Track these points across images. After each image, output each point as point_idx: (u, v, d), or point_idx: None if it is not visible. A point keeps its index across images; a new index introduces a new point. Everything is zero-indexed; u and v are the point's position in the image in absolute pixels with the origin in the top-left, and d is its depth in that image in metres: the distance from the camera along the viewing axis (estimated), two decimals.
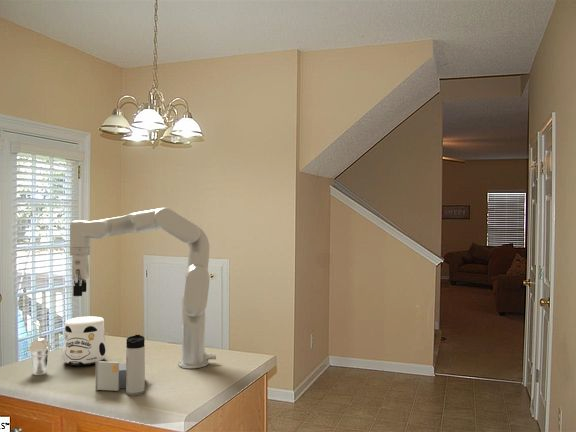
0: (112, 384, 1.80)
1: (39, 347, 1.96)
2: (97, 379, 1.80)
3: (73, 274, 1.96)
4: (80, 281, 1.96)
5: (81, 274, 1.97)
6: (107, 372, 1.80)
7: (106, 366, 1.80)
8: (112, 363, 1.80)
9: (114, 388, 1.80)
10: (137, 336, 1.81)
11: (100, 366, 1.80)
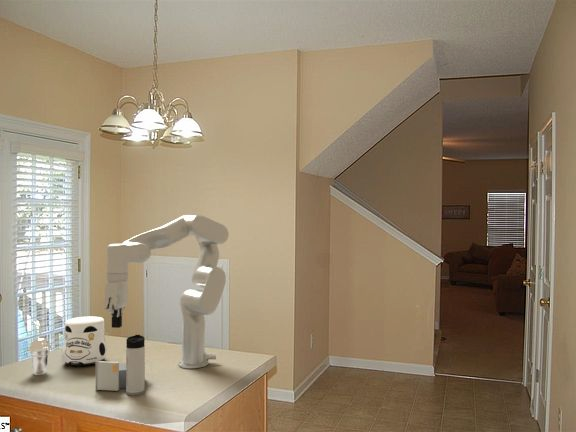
0: (112, 384, 1.80)
1: (39, 347, 1.96)
2: (97, 379, 1.80)
3: None
4: None
5: None
6: (107, 372, 1.80)
7: (106, 366, 1.80)
8: (112, 363, 1.80)
9: (114, 388, 1.80)
10: (137, 336, 1.81)
11: (100, 366, 1.80)
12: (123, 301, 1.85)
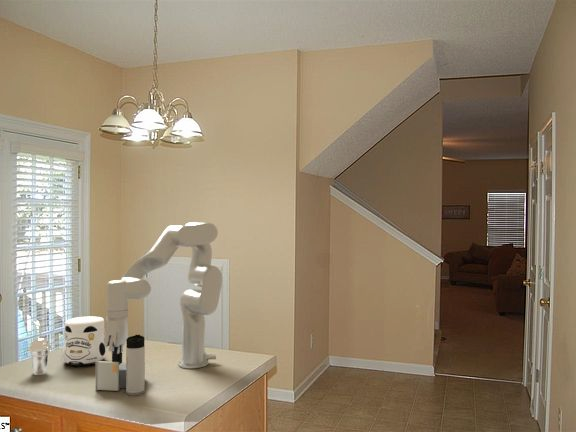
0: (112, 384, 1.80)
1: (39, 347, 1.96)
2: (97, 379, 1.80)
3: None
4: None
5: None
6: (107, 372, 1.80)
7: (106, 366, 1.80)
8: (112, 363, 1.80)
9: (114, 388, 1.80)
10: (137, 336, 1.81)
11: (100, 366, 1.80)
12: (123, 338, 1.85)
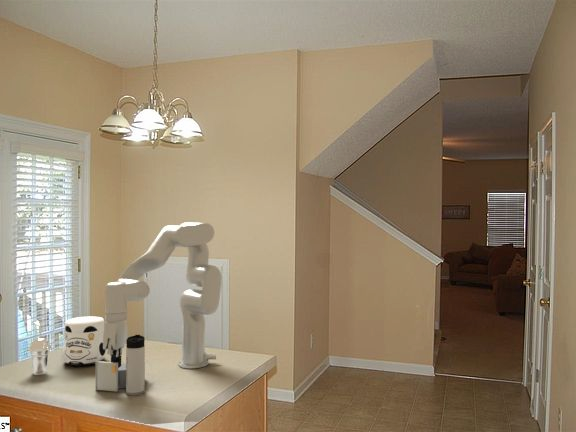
0: (111, 385, 1.79)
1: (39, 347, 1.96)
2: (97, 379, 1.80)
3: None
4: None
5: None
6: (106, 372, 1.79)
7: (105, 366, 1.79)
8: (111, 363, 1.79)
9: (113, 388, 1.79)
10: (137, 336, 1.81)
11: (100, 366, 1.80)
12: (122, 341, 1.82)
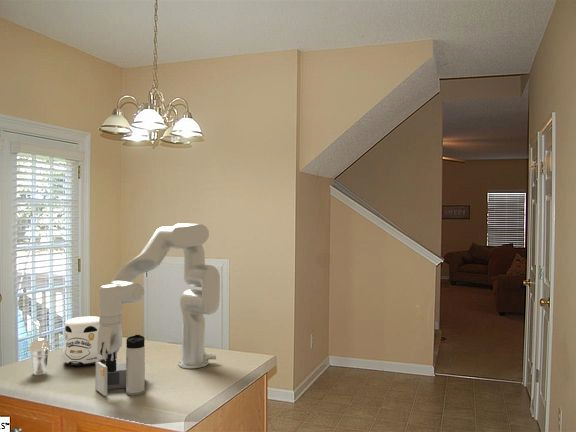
0: (102, 388, 1.76)
1: (39, 347, 1.96)
2: (96, 379, 1.80)
3: None
4: None
5: None
6: (100, 374, 1.77)
7: (99, 368, 1.78)
8: (102, 366, 1.76)
9: (103, 392, 1.75)
10: (137, 336, 1.81)
11: (97, 367, 1.79)
12: (117, 344, 1.78)
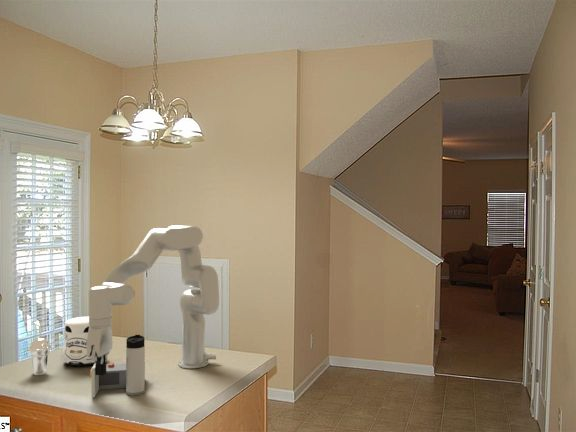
0: None
1: (39, 347, 1.96)
2: None
3: None
4: None
5: None
6: None
7: None
8: None
9: (92, 393, 1.74)
10: (137, 336, 1.81)
11: None
12: (107, 347, 1.75)
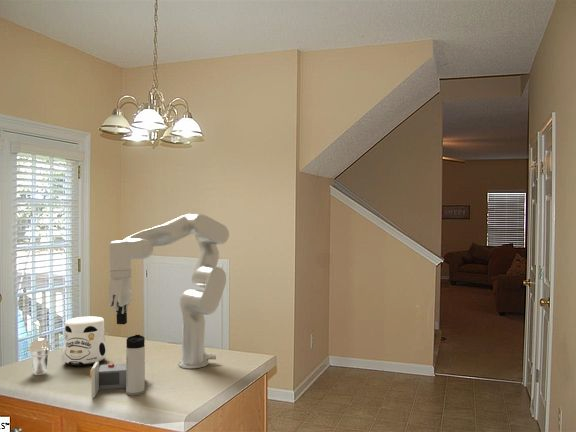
0: None
1: (39, 347, 1.96)
2: None
3: None
4: None
5: None
6: None
7: None
8: None
9: (92, 393, 1.74)
10: (137, 336, 1.81)
11: None
12: (127, 298, 1.85)
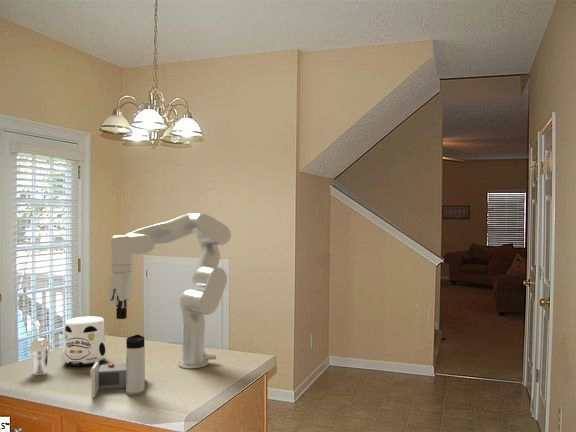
0: None
1: (39, 347, 1.96)
2: None
3: None
4: None
5: None
6: None
7: None
8: None
9: (92, 393, 1.74)
10: (137, 336, 1.81)
11: None
12: (128, 292, 1.85)
